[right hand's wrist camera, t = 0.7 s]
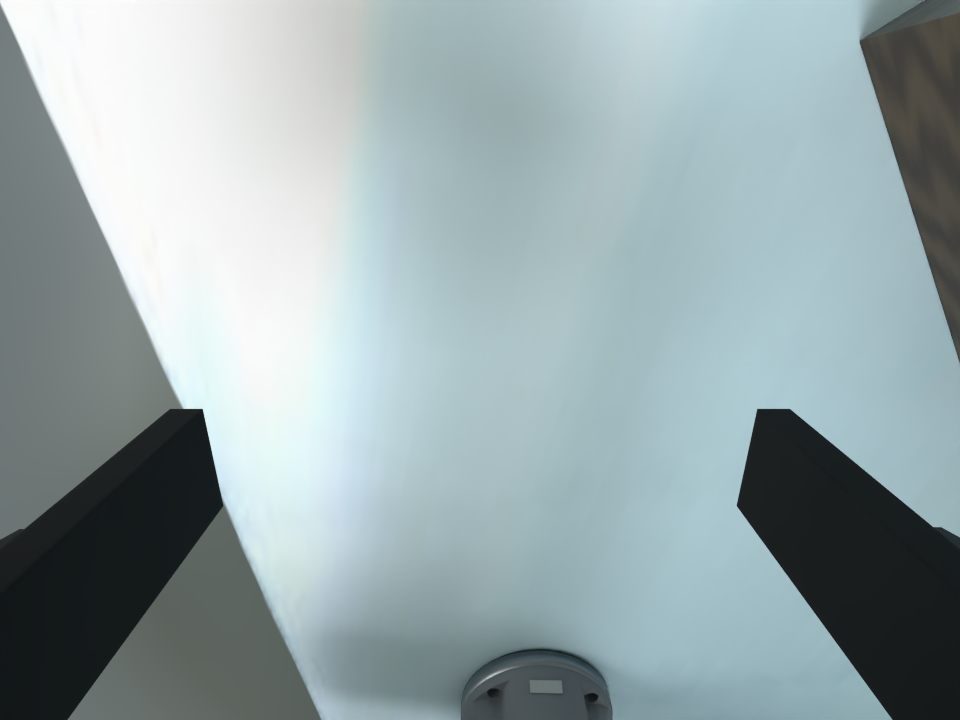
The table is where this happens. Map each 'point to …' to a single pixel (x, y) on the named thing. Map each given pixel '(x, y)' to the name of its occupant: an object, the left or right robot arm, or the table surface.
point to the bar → (926, 129)
